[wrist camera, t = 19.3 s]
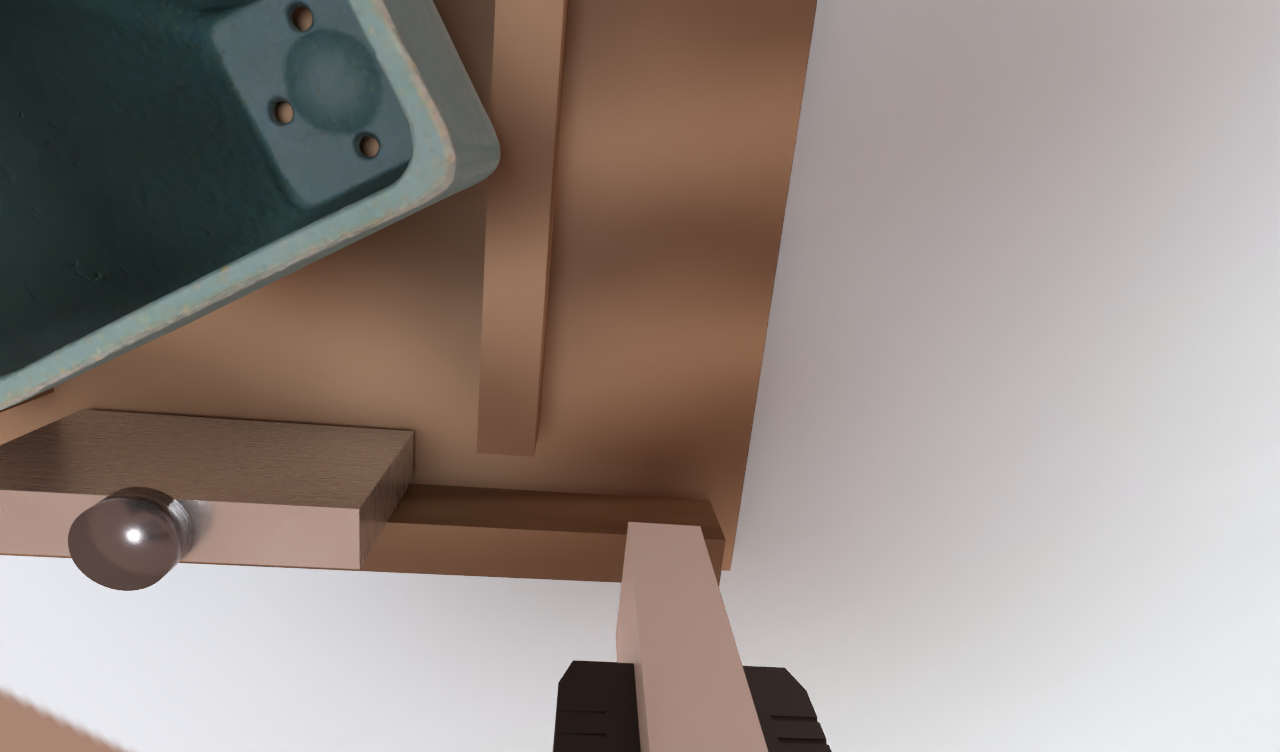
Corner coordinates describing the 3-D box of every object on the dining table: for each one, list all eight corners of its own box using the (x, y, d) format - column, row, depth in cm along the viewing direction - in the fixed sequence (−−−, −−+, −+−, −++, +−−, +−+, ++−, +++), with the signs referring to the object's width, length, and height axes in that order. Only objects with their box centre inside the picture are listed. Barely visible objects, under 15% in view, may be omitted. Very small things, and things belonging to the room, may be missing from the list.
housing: (-87, -306, 16) (-284, -453, 12) (827, -155, 18) (887, -240, 14) (31, 517, 21) (-81, 583, 17) (723, 551, 23) (747, 616, 20)
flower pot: (576, 179, 17) (469, 180, 9) (293, 313, 19) (-38, 428, 10) (409, -191, 15) (52, -670, 7) (106, -7, 17) (-505, -203, 8)
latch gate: (80, 400, 19) (-132, 490, 13) (413, 423, 20) (347, 515, 14) (88, 467, 19) (-113, 580, 14) (413, 486, 20) (348, 599, 15)
